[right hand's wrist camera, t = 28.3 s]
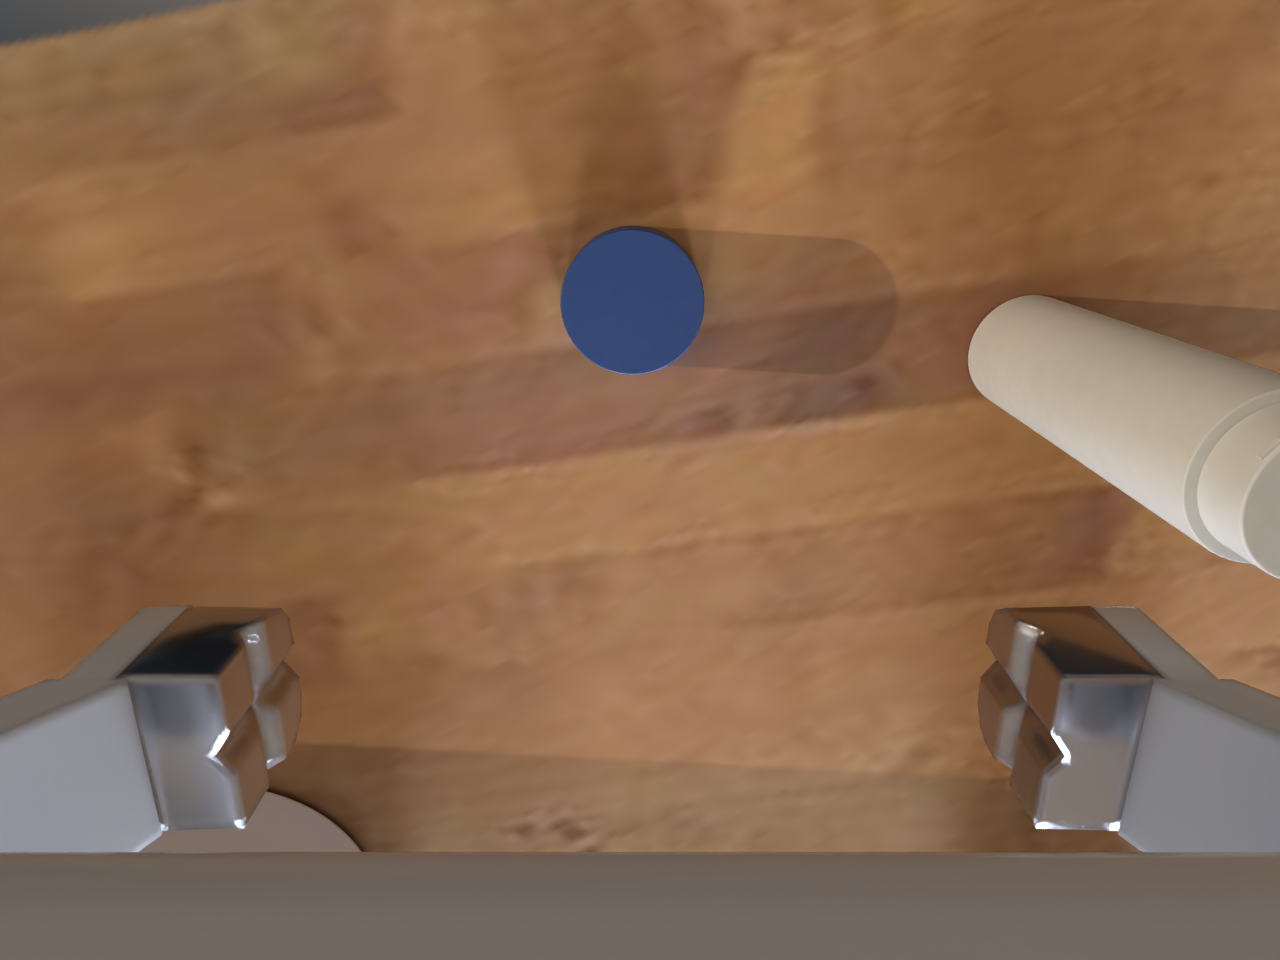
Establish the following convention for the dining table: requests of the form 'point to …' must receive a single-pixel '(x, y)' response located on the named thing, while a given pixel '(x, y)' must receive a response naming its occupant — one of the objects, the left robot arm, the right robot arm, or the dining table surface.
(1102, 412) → the white bottle
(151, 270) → the dining table surface
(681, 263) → the lid
